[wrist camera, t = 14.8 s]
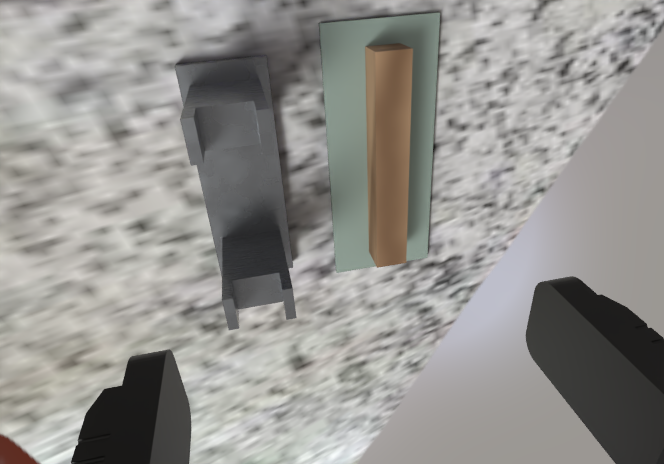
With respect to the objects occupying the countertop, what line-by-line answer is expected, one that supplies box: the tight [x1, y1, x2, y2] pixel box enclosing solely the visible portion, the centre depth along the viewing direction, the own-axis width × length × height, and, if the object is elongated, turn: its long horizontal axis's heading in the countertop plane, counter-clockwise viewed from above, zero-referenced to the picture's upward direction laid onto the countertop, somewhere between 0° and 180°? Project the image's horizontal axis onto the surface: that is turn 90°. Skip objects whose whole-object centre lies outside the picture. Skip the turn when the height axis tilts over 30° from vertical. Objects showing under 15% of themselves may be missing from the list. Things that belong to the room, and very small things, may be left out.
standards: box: [175, 55, 296, 330], centre depth 37 cm, size 7×20×10 cm, turn 4°
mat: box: [319, 12, 440, 273], centre depth 43 cm, size 10×24×1 cm, turn 4°
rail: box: [365, 43, 413, 267], centre depth 42 cm, size 3×20×3 cm, turn 3°
